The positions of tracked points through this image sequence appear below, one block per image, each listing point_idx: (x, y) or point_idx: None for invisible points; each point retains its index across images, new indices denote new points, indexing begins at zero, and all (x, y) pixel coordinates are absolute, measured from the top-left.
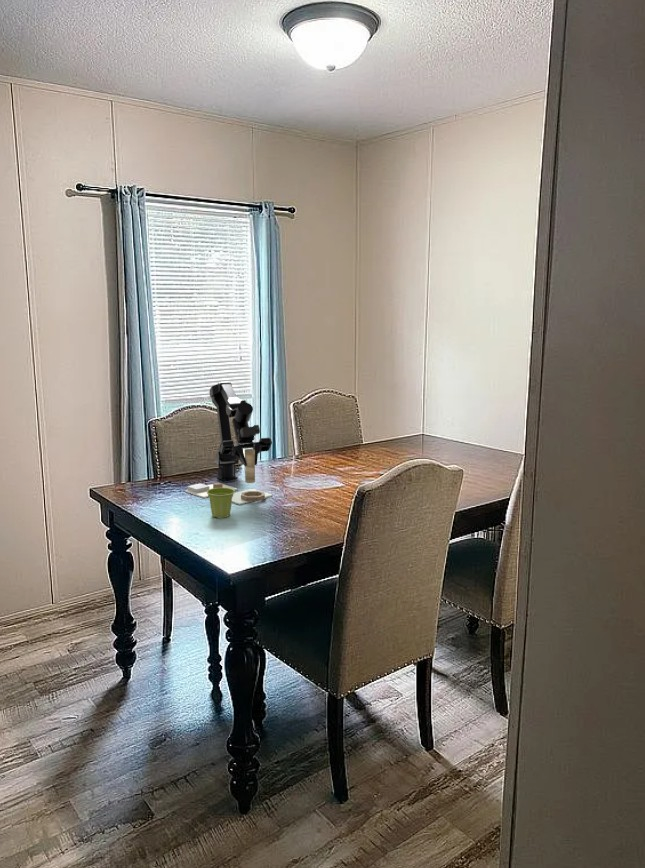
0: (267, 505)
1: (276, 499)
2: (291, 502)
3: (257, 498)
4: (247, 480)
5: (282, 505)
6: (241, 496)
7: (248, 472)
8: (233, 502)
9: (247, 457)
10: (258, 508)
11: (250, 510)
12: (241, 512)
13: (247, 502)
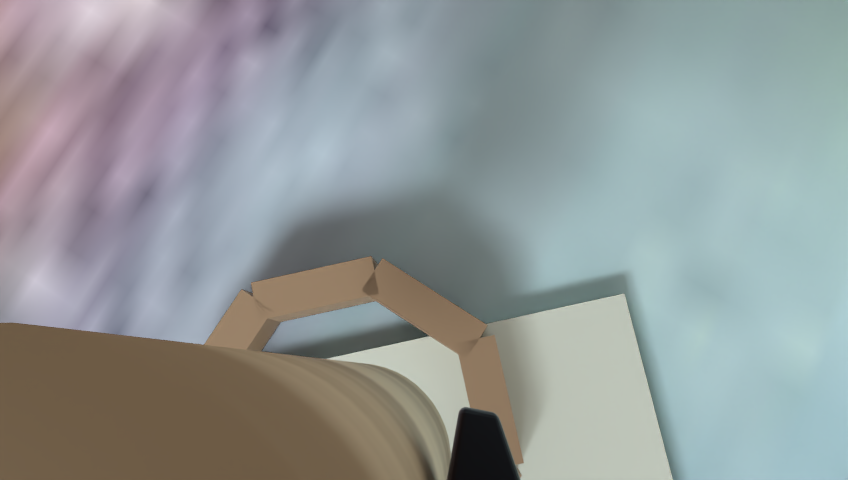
0: (326, 104)
1: (102, 266)
2: (28, 63)
3: (365, 261)
4: (436, 412)
5: (180, 16)
6: (521, 454)
7: (408, 399)
8: (653, 420)
9: (380, 457)
10: (476, 55)
11: (594, 35)
12: (721, 21)
13: (488, 325)
